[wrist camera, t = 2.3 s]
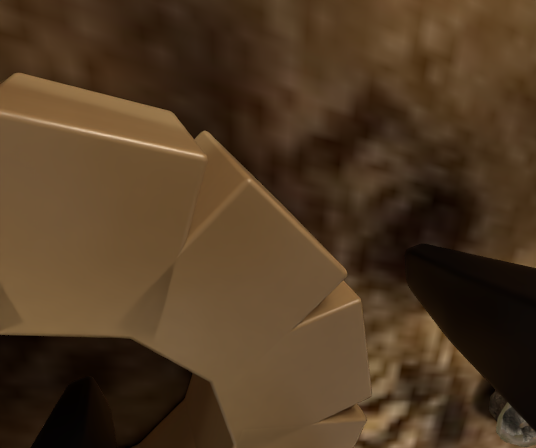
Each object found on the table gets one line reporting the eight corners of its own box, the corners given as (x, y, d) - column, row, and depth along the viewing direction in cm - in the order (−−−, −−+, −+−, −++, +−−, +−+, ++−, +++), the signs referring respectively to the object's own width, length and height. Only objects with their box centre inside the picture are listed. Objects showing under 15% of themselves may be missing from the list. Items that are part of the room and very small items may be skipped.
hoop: (333, 426, 13) (386, 518, 11) (-89, 628, 11) (-141, 805, 8) (254, 1, 7) (330, -3, 5) (-694, 225, 5) (-1411, 422, 3)
